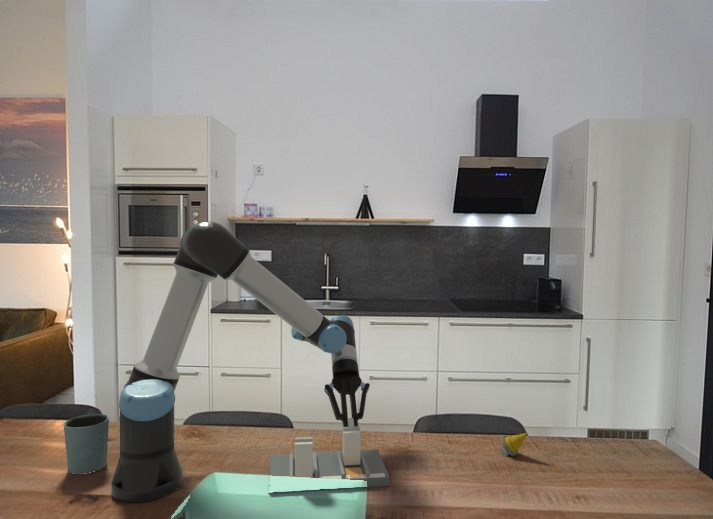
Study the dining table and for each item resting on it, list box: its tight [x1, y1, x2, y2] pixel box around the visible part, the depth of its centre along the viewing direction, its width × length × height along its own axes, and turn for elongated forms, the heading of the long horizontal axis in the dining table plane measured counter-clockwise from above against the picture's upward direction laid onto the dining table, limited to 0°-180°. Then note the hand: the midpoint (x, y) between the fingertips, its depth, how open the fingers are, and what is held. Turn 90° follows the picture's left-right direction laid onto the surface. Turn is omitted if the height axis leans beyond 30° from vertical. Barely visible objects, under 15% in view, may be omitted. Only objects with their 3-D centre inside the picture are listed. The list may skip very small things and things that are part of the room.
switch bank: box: [269, 448, 391, 488], centre depth 118 cm, size 28×16×3 cm, turn 98°
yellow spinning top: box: [500, 432, 529, 457], centre depth 130 cm, size 5×5×10 cm
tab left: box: [294, 436, 314, 478], centre depth 113 cm, size 4×4×9 cm
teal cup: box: [63, 413, 110, 474], centre depth 121 cm, size 10×10×12 cm
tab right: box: [342, 425, 361, 465], centre depth 120 cm, size 4×4×9 cm
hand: (352, 444), depth 123 cm, fingers closed
